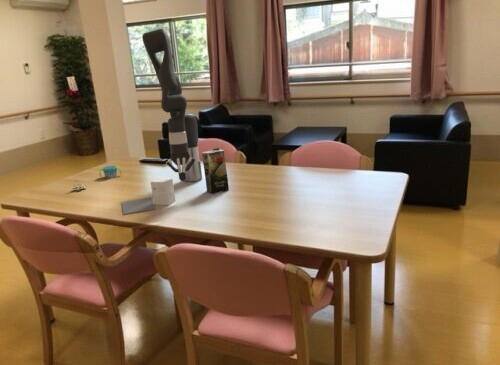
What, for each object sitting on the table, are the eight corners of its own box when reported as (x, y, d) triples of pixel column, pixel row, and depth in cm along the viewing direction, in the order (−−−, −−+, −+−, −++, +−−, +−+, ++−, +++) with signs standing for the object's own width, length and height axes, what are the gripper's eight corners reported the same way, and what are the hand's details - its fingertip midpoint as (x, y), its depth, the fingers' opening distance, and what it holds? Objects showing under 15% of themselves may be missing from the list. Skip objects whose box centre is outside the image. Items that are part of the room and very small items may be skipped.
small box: (175, 201, 181) (173, 178, 178) (169, 205, 176) (166, 182, 173) (160, 200, 183) (157, 178, 180) (153, 204, 178) (150, 181, 175)
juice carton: (200, 150, 187) (206, 151, 182) (219, 147, 192) (225, 147, 187) (205, 192, 191) (211, 194, 186) (224, 188, 196) (230, 190, 191)
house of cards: (68, 198, 199) (65, 183, 197) (68, 193, 207) (65, 179, 205) (87, 194, 203) (85, 179, 201) (86, 190, 210) (84, 176, 208)
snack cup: (122, 177, 232) (120, 164, 230) (121, 180, 224) (119, 167, 222) (101, 179, 229) (99, 166, 227) (100, 183, 222) (97, 169, 220)
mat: (150, 198, 188) (150, 197, 188) (155, 209, 171) (155, 208, 171) (121, 202, 184) (121, 202, 184) (123, 214, 168) (123, 214, 167)
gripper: (191, 139, 181) (195, 176, 185) (161, 142, 177) (166, 180, 181) (195, 141, 174) (199, 180, 178) (164, 145, 170) (168, 184, 174)
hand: (182, 180), depth 180 cm, fingers closed
